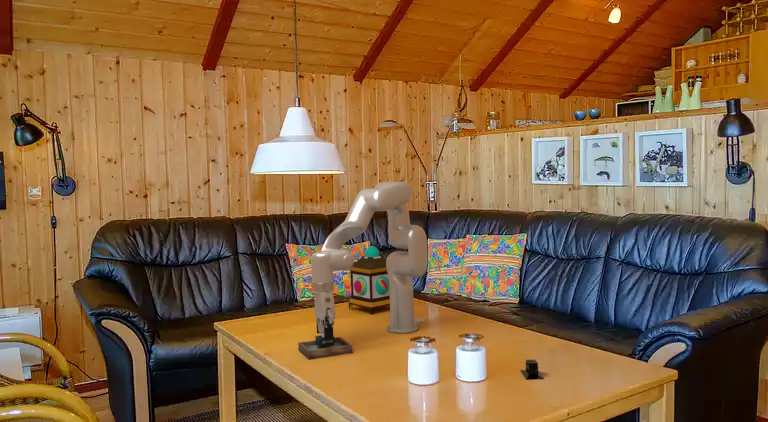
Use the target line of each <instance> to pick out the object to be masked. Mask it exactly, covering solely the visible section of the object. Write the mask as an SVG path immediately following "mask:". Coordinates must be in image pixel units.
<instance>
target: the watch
mask: <svg viewBox="0 0 768 422" xmlns="http://www.w3.org/2000/svg"><path fill="white" fill-rule="evenodd" d="M325 319H326V318H325ZM326 323H327V321H326ZM334 325H335V320H333V326H334ZM324 327H325V325H324V321H323V320H321V319H320V318H318V331H319V333H318V334H320V335H315V336H314V337H315V339H314V340H316V345H317V346H318V347H320V348H322V347H327V346H333V345H335V340H334V338H335V336H334V335H333V338H330V339H325V338H324Z"/></svg>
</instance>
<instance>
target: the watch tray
mask: <svg viewBox="0 0 768 422" xmlns="http://www.w3.org/2000/svg"><path fill="white" fill-rule="evenodd" d="M334 340H335V345H333V346H327V347H322V348H320V347H318V346H317V345H316V340H315V339H314V340H307V341H301V342H298V343H297V346H298V349H297V350H298V351H299V352H300V353H301V354H302V355H303V356H304V357H305V358H306V359H308V360H316V359H322V358H328V357H335V356H341V355H348V354H353V344H351V343H350V342H349V341H347V340H345V339H344V338H342V337H341V336H337V337H335V336H334Z"/></svg>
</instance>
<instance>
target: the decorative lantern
mask: <svg viewBox="0 0 768 422" xmlns="http://www.w3.org/2000/svg"><path fill="white" fill-rule="evenodd" d="M383 256H384V255H381V254H380V249H378V248H377V247H376V246H374V245H371V246H369V247H367V249H366V250H365V252H364V255H362V256H361V257H360V258H359V259H357V261H354V264H353V266H352V267H351V268H350V269H348V270H349V272H350V299H349V301H348V309H349V310H353V306H357V307H360V308H364V309H365V308H366V309H368V310H369V315H370V316H373V313H374V310H375V309H378V308H382V307H388V306H390V291H389V277H388V272H387V268H386V260H387V258H385V257H383Z"/></svg>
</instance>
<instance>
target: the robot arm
mask: <svg viewBox="0 0 768 422" xmlns="http://www.w3.org/2000/svg"><path fill="white" fill-rule="evenodd" d="M412 197H413V187H411V185H410V183H408V182H405V181H383V182H380V183H377V184H376V185H374V187H373V188H365V189H362V190H360V191H359V192H358V193H357V194H356V197H355V200H354V202H353V203H352V205H351V207H350V209H349V211H348V213H347V216H346V217H345V220H344V221H343V222H342V223H341V224H339V225H338V226H337V227H336V228H335V229H333V231H331V233H330V234H329V235H328V236H327V238H326V240H325V242H324V243H323V245H322V247H321V250H320V251H316V252H313V253H312V254H311V257H310V258H311V259H310V260H311V261H310V263H311V280H312V281H311V282H312V283H311V285H312V289H311V290H312V293H314V314H315V316H316V317H315V322H316V323H315V324H316V334H320V333H319V331H318V318H320V319H321V320H323V321H324V325H325V327H324V338H325V339H330V338H333V336H334V325H333V321H334V320H335V319H336V305H335V298H334V291H335V289H334V288H335V285H334V272H336V271H337V272H338V271H341V272H343V271H347V270H349V269H350V268H351V267H352V266H353V264H354V262H355V256H354V254H353V253H352V252H351V251H349V250H346V249H342V247H343V246H344V245H345V244H346V243H347V242H348V241H349V240H352V239H354V238H356V237H358V236H360V235H362V234H363V233H364V232H365V231H366V230H367V228H368V226H369V224H370V221H371V219H372V218H373V216H374V213H375V212H385V211H386V214H387V219H388V225H387V226H388V240H389V244H390V246H391V247H393V248H396V249H406V250H407V251H401V250H400V251H393V252H391V253H390V254H389V255H388V256H387V257H386V259H387V260H386V268H387V272H388V277H389V291H390V305H389V317H390V318H389V319H390V323H389V325H387V327H386V331H387V332H389V333H392V334H410V333H414V332H416V331H418V330H419V326H418V325H419V324H425V323H426V319H425V318H424V317H423V318H422V317H421V318H419V317H417V318H416V317H415V313H414V312H415V308H414V307H415V305H414V284H413V281H412V278H421V277H422V276H424V275H425V274H426V272H427V270H428V239H427V238H428V237H427V234H426V232H425V230H424V229H423V227H421V226H419V225H416V224H411V222H410V219H411V218H410V211H409V207H408V206H407V203H409V202H410V201H411V199H412ZM325 318H326V319H325ZM326 321H327V323H326Z"/></svg>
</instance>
